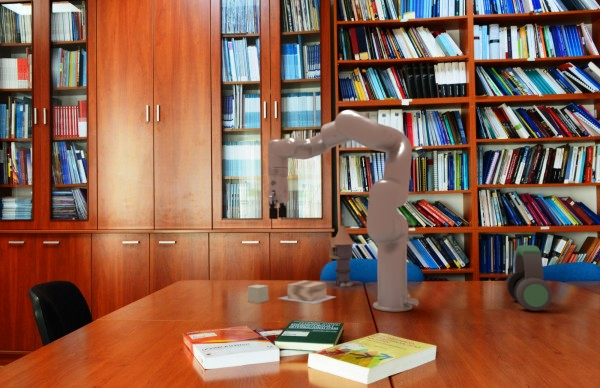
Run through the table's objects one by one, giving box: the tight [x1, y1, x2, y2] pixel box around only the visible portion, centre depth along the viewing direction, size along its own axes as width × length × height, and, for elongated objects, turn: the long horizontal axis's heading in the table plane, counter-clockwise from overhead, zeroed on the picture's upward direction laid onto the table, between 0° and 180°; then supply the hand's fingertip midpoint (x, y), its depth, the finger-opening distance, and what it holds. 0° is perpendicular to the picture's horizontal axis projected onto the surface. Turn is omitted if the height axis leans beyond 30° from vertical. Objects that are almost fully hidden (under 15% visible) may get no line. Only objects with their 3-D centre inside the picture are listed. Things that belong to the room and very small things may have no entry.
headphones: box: [506, 244, 553, 312], centre depth 165 cm, size 19×11×20 cm, turn 168°
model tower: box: [326, 213, 355, 288], centre depth 208 cm, size 10×11×30 cm
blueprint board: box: [277, 294, 336, 304], centre depth 179 cm, size 16×14×1 cm
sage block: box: [247, 284, 269, 304], centre depth 175 cm, size 5×5×6 cm
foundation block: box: [286, 279, 327, 302], centre depth 179 cm, size 10×10×5 cm
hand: (278, 218), depth 189 cm, fingers open, 9 cm apart
